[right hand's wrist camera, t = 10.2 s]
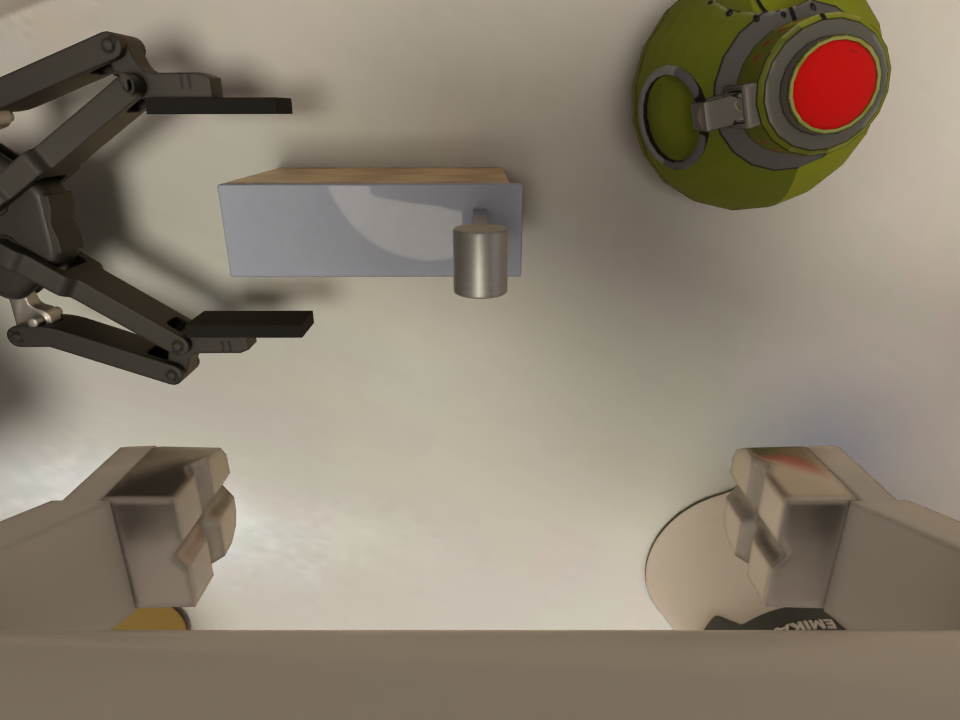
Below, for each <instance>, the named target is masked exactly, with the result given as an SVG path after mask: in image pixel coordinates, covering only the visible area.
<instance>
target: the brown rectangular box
mask: <svg viewBox="0 0 960 720" xmlns="http://www.w3.org/2000/svg"><path fill="white" fill-rule="evenodd" d="M227 183H509V181H508V179H507V177H506V174H505V172H504V170H503V168H277V169H274V170H270V171H266V172H263V173H259V174H256V175H252V176H248V177H245V178H241V179H238V180H234V181H230V182H227Z"/></svg>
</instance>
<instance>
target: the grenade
mask: <svg viewBox="0 0 960 720" xmlns="http://www.w3.org/2000/svg"><path fill="white" fill-rule="evenodd" d="M890 73H891V65H890V60H889V54H888V49H887V46H886V44H885V42H884V41H883V39H882V35H881V30H880V24H879V22H878V20H877V18H876V17H875V15H874V13H873V12H872V10H871V8H870V6H869V5H868V3H867V1H866V0H678V1H677V2H676V3H675V4H674V5H673V6H671V7H670V8H669V9H668V10H667V11H666V12H665V13H664V14H663V16H662V18H661V19H660V21H659V23H658V24H657V26H656V27H655V29H654V31H653V32H652V34H651V36H650V37H649V39H648V40H647V42H646V44H645V45H644V47H643V50H642V53H641V57H640V60H639V64H638V68H637V71H636V75H635V78H634V82H633V85H632V89H633V125H634V128H635V131H636V134H637V137H638V140H639V143H640V146H641V149H642V152H643V155H644V157H645V158H646V159H647V160H648V162H649V163H650V164H651V166H652V167H653V168H654V170H655V171H656V172H657V174H658V175H659V176H660V178H661V179H662V180H663V181H664V182H665V183H667V184H668V185H670V186H671V187H673V188H674V189H676V190H677V191H679V192H681V193H682V194H684V195H685V196H687V197H688V198H690V199H692V200H694V201H696V202H700V203H704V204H708V205H712V206H717V207H721V208H725V209H729V210H741V209H751V208H761V207H769V206H773V205H776V204H778V203H781V202H783V201H786V200H788V199H791V198H793V197H795V196H798V195H800V194H803V193H805V192H808V191H809V190H810V189H812V188H813V187H814V186H816V185H817V184H818V183H820V182H821V181H822V180H823V179H825V178H826V177H827V176H829V175H830V174H831V173H832V172H834V171H835V170H836V169H838V168H839V167H840V166H841V165H843V164H844V162H845V161H846V160H847V158H848V157H849V156H850V154H851V153H852V152H853V150H854V149H855V148H856V147H857V145H858V144H859V143H860V141H861V140H862V139H863V137H864V136H865V135H866V133H867V131H868V128H869V126H870V124H871V123H872V121H873V120H874V119H875V117H876V116H877V115H878V113H879V112H880V109H881V107H882V104H883V102H884V100H885V97H886V95H887V93H888V88H889V80H890Z"/></svg>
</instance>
